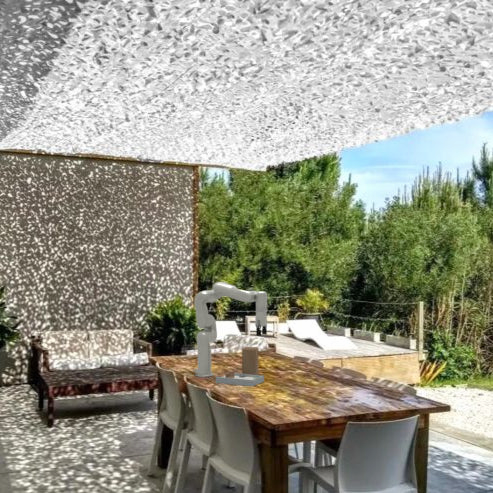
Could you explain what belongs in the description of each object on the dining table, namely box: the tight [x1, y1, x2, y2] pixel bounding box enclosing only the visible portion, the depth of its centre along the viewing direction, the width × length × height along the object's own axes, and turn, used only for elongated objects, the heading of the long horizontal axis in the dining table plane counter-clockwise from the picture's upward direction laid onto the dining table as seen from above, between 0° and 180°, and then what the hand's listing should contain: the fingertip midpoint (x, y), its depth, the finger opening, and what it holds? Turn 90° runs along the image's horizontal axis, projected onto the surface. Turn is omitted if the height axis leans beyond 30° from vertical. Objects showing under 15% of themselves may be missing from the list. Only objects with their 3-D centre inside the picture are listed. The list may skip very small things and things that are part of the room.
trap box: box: [215, 372, 265, 387], centre depth 421 cm, size 27×18×4 cm, turn 64°
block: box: [241, 346, 259, 375], centre depth 444 cm, size 10×10×20 cm
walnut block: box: [224, 372, 235, 378], centre depth 425 cm, size 4×4×3 cm
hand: (261, 335), depth 427 cm, fingers open, 9 cm apart
